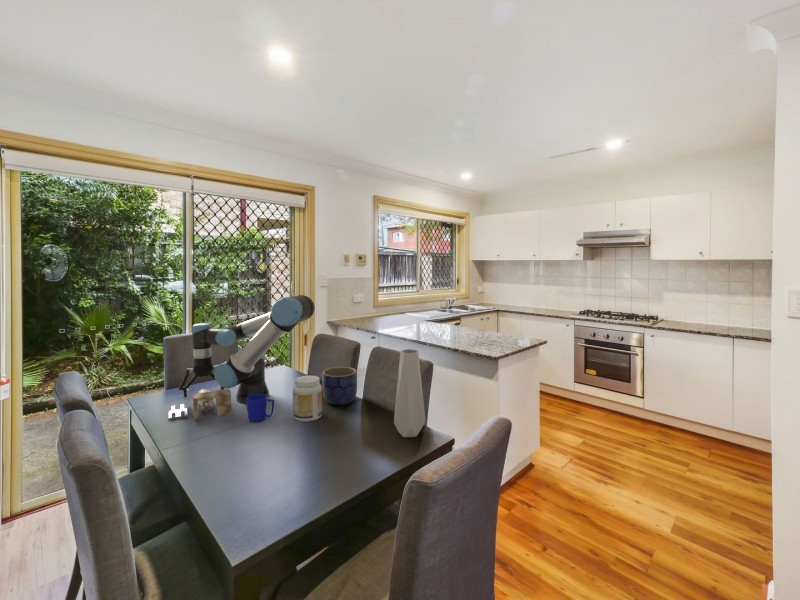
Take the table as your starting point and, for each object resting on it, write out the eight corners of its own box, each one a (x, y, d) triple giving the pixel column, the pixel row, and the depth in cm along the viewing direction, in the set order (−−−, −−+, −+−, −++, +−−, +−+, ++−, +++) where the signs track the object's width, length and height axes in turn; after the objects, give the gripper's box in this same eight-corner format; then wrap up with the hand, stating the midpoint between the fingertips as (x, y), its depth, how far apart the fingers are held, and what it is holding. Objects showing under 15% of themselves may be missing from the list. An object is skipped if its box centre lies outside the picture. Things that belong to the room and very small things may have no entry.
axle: (210, 400, 182) (210, 388, 182) (214, 410, 169) (214, 397, 169) (196, 402, 179) (196, 390, 179) (199, 412, 166) (198, 399, 166)
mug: (269, 425, 154) (268, 401, 153) (242, 422, 156) (241, 399, 155) (279, 417, 162) (278, 394, 161) (254, 415, 164) (253, 392, 163)
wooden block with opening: (229, 408, 171) (229, 388, 170) (231, 413, 166) (230, 392, 165) (193, 415, 163) (192, 394, 162) (194, 420, 158) (193, 398, 157)
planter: (364, 399, 183) (364, 369, 182) (341, 410, 169) (341, 378, 168) (338, 393, 192) (338, 364, 191) (315, 403, 178) (314, 372, 177)
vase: (388, 429, 150) (388, 349, 147) (414, 425, 154) (415, 346, 151) (400, 443, 139) (400, 356, 136) (428, 437, 143) (429, 353, 140)
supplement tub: (312, 409, 171) (312, 372, 169) (327, 417, 162) (327, 378, 161) (288, 416, 162) (287, 378, 161) (302, 425, 154) (301, 385, 152)
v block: (186, 410, 169) (186, 403, 169) (187, 416, 162) (187, 410, 161) (168, 413, 166) (168, 406, 165) (168, 420, 158) (168, 413, 158)
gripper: (231, 352, 184) (232, 394, 186) (171, 358, 171) (174, 403, 173) (232, 355, 177) (234, 398, 179) (171, 361, 165) (173, 408, 167)
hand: (204, 401), depth 176 cm, fingers open, 13 cm apart
